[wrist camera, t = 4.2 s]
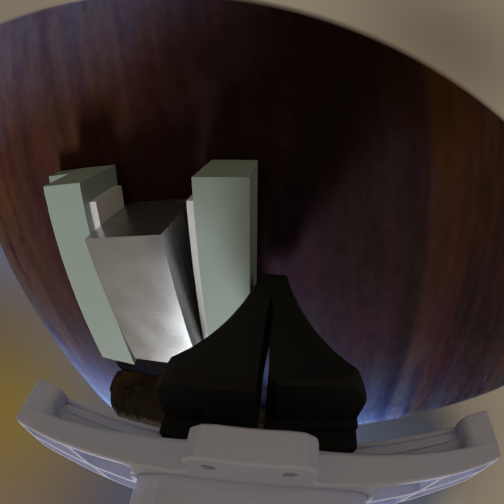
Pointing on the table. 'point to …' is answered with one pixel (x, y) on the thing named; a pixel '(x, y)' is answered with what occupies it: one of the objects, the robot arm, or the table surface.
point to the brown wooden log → (143, 399)
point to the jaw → (223, 238)
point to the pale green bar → (76, 251)
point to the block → (149, 277)
